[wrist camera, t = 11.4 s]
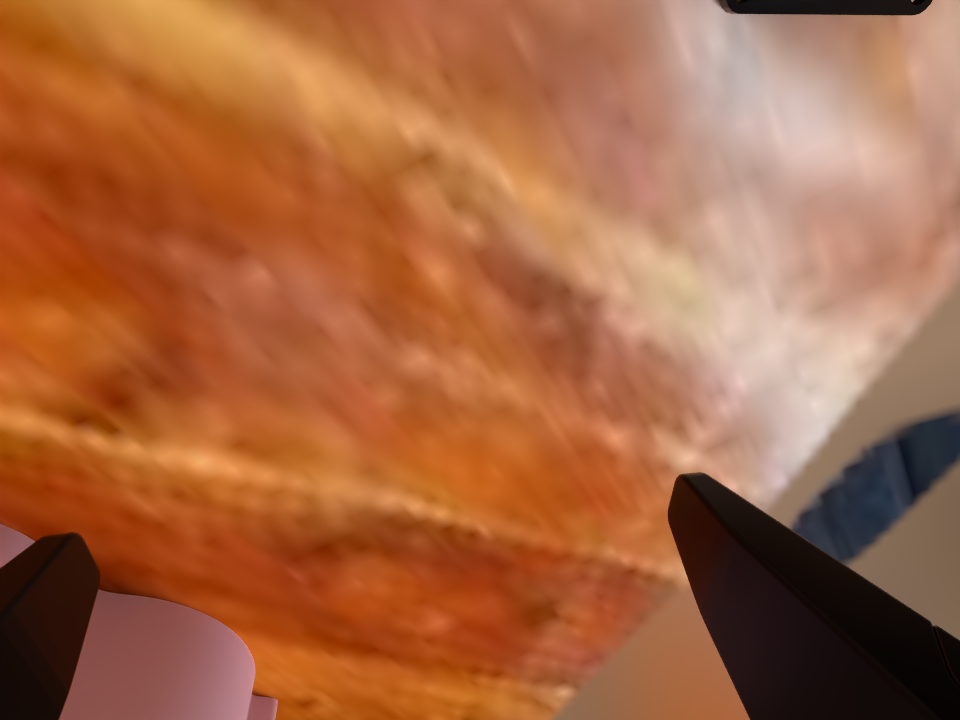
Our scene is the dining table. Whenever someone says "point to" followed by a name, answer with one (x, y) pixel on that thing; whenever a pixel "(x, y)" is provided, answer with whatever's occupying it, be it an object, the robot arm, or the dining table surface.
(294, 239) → the dining table surface
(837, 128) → the dining table surface
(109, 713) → the clip
